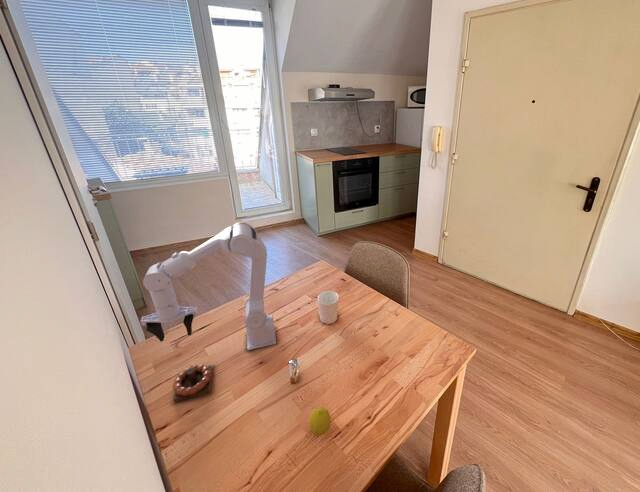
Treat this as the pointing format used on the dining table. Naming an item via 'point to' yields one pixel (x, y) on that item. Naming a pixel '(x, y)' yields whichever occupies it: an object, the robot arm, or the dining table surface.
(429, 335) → the dining table surface
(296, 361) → the ring
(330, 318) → the white cup
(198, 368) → the hoop
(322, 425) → the lemon
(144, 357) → the dining table surface
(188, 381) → the stand
